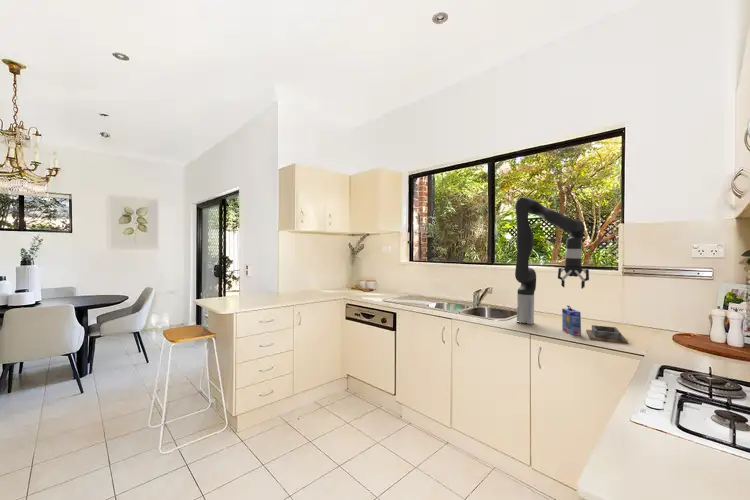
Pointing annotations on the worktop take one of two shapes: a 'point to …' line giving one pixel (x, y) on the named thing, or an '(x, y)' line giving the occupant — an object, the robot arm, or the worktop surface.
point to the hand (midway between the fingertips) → (572, 287)
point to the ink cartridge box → (571, 321)
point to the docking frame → (606, 334)
